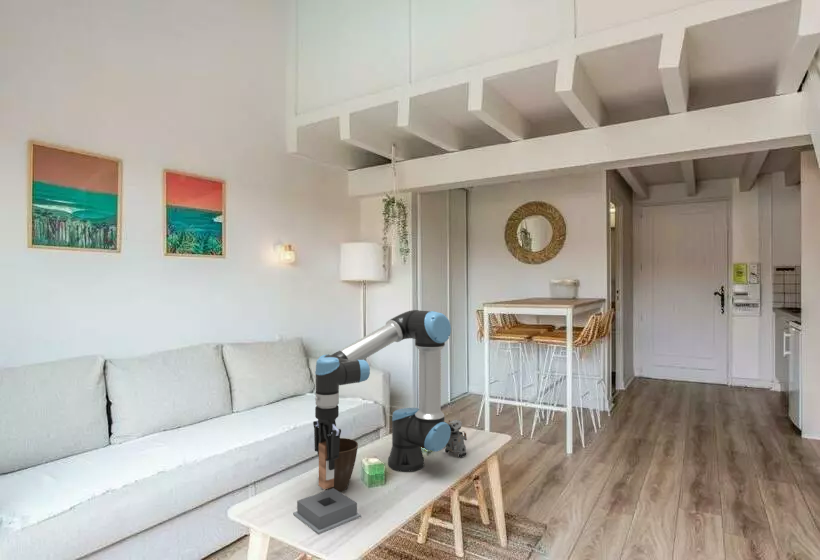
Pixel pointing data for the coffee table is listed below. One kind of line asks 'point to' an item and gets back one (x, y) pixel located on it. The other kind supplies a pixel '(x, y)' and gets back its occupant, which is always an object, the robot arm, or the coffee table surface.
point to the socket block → (326, 510)
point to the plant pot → (344, 464)
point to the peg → (323, 467)
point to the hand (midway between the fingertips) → (326, 476)
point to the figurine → (456, 439)
